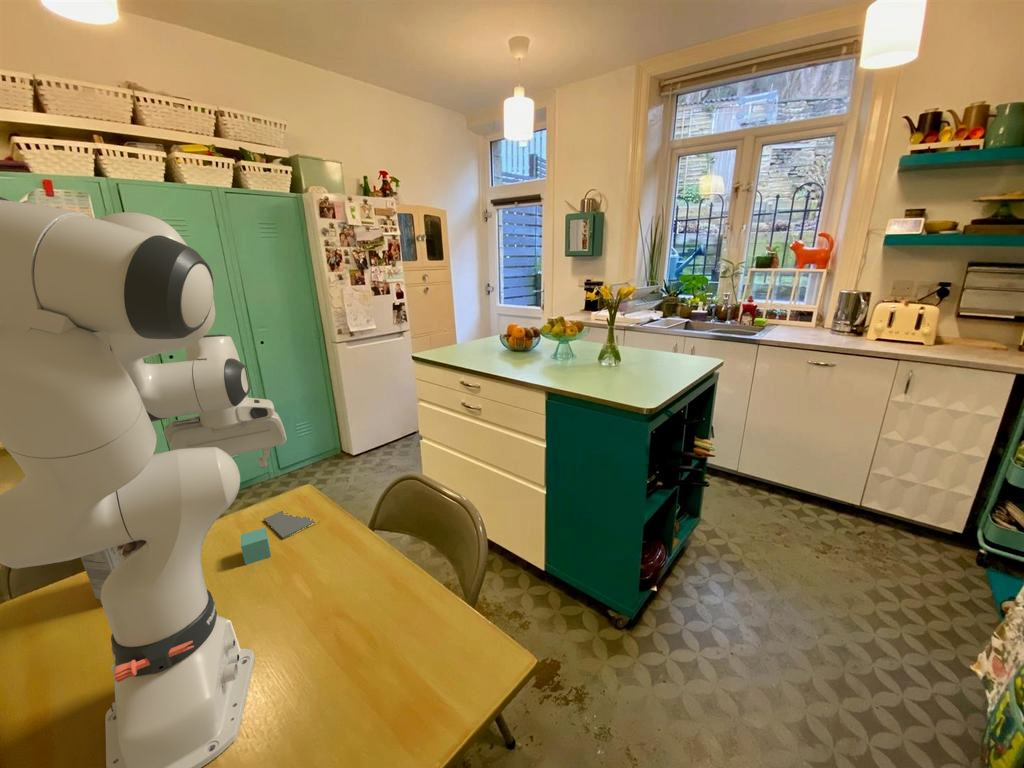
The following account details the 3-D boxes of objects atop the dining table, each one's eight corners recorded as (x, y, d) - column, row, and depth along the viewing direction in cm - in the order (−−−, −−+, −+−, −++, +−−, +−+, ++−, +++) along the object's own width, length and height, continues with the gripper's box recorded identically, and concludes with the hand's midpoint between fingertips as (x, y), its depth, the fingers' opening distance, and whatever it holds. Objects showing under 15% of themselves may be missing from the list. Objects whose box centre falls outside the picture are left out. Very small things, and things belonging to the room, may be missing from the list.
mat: (319, 522, 108) (319, 520, 108) (283, 539, 102) (282, 537, 102) (299, 505, 116) (298, 503, 116) (263, 520, 109) (263, 518, 109)
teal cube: (270, 557, 96) (266, 538, 95) (245, 565, 93) (240, 546, 92) (269, 545, 100) (265, 527, 99) (244, 553, 98) (240, 534, 96)
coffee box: (138, 568, 93) (118, 504, 88) (164, 570, 92) (144, 506, 88) (94, 600, 84) (68, 531, 80) (121, 603, 83) (97, 533, 79)
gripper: (158, 427, 79) (176, 493, 83) (281, 406, 89) (292, 465, 93) (163, 417, 84) (180, 479, 88) (278, 399, 94) (289, 455, 98)
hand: (238, 472), depth 91 cm, fingers open, 8 cm apart
